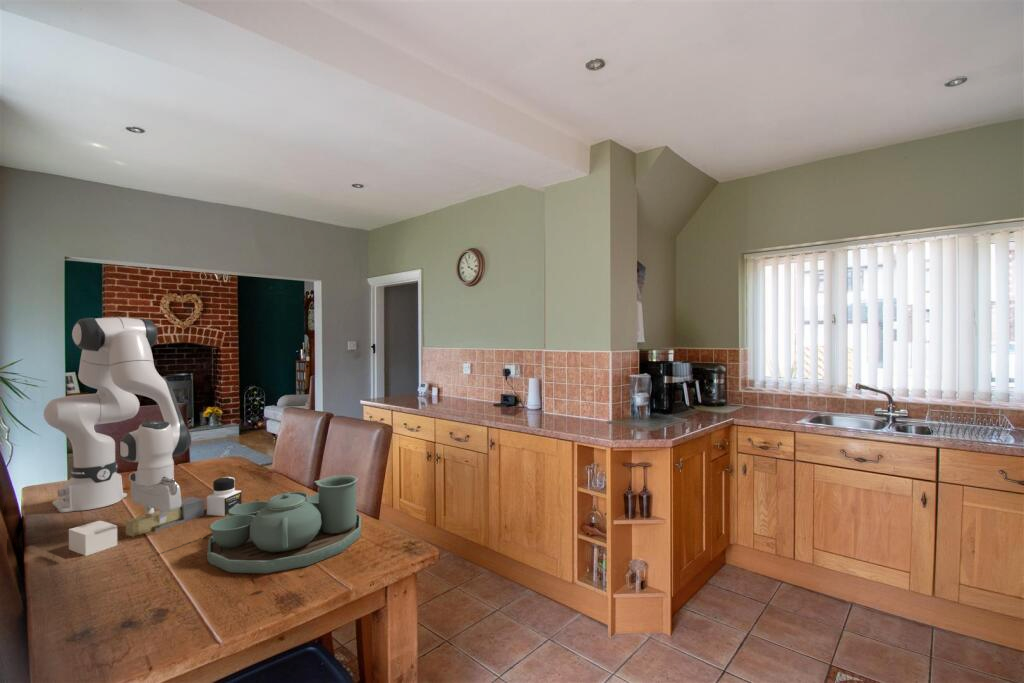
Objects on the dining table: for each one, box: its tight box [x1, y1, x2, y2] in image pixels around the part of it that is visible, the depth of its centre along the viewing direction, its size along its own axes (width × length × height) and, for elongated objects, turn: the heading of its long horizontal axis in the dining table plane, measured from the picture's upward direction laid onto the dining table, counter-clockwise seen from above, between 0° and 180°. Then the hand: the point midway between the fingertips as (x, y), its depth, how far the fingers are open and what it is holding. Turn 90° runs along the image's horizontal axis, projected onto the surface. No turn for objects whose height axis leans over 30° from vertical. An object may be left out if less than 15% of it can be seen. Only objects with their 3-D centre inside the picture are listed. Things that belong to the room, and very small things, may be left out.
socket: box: [68, 519, 118, 557], centre depth 129 cm, size 9×7×6 cm
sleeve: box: [153, 496, 205, 532], centre depth 147 cm, size 8×14×6 cm, turn 154°
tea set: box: [206, 474, 362, 574], centre depth 135 cm, size 40×40×16 cm
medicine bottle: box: [206, 476, 242, 517], centre depth 155 cm, size 7×7×12 cm
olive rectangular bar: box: [125, 507, 182, 538], centre depth 144 cm, size 4×16×4 cm, turn 154°
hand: (156, 520), depth 143 cm, fingers closed on olive rectangular bar, 4 cm apart
